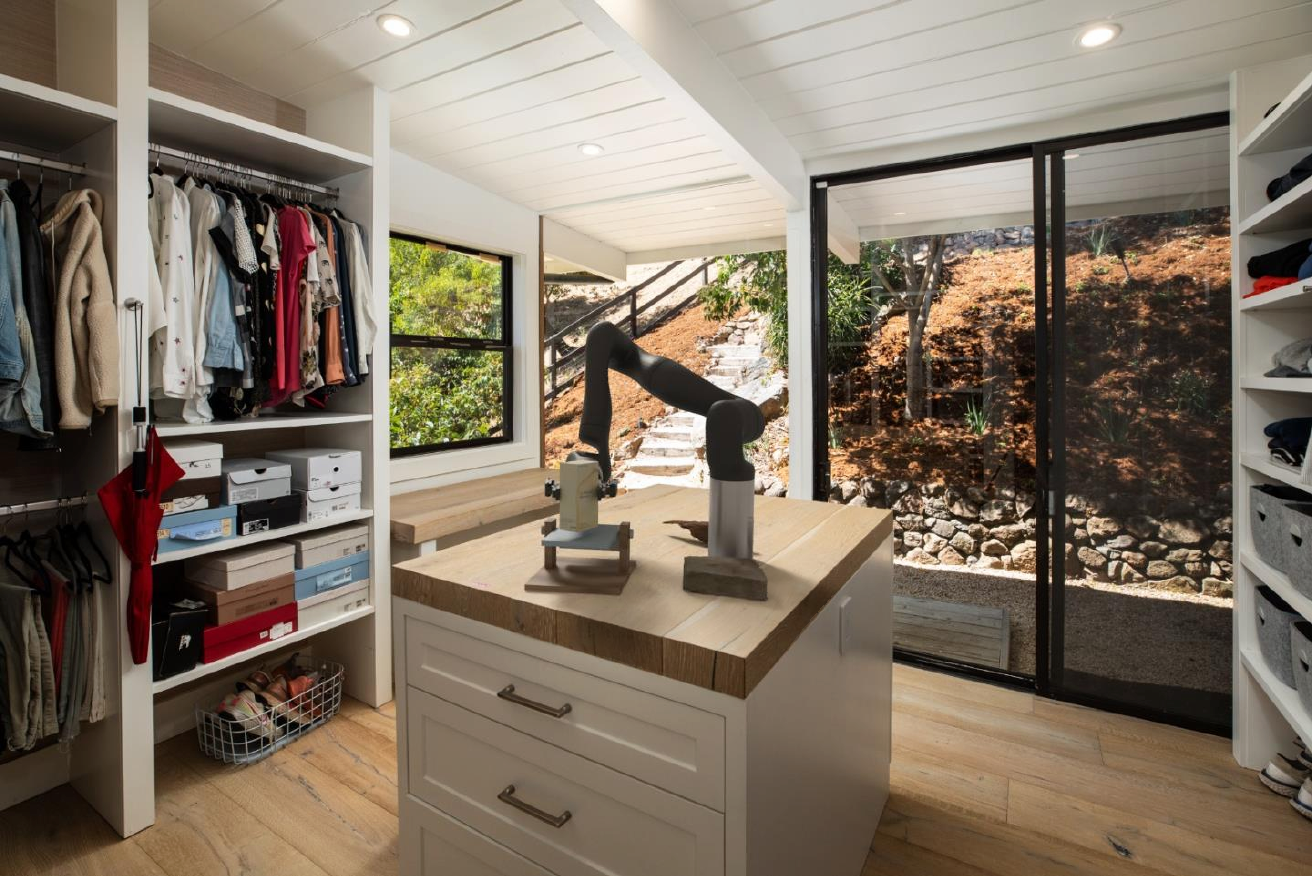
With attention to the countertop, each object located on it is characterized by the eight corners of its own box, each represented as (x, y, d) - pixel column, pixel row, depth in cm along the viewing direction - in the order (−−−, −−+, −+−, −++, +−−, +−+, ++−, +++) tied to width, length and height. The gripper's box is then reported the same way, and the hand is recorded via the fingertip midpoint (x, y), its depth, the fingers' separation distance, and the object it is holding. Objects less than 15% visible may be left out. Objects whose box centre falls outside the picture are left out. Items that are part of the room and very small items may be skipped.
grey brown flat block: (768, 603, 115) (769, 579, 115) (681, 600, 116) (682, 576, 116) (758, 574, 132) (759, 553, 131) (682, 572, 132) (683, 551, 132)
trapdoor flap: (563, 544, 135) (563, 522, 135) (622, 547, 134) (623, 525, 133) (541, 565, 120) (541, 540, 120) (607, 568, 119) (608, 543, 118)
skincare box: (577, 533, 119) (578, 464, 118) (558, 529, 121) (558, 462, 120) (599, 526, 124) (599, 460, 123) (580, 523, 126) (580, 458, 125)
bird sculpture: (668, 531, 166) (669, 511, 166) (760, 548, 151) (760, 526, 151) (652, 536, 161) (653, 515, 160) (745, 554, 146) (746, 531, 146)
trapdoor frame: (552, 560, 138) (552, 512, 137) (638, 565, 136) (638, 516, 135) (522, 589, 119) (522, 533, 118) (621, 595, 117) (622, 538, 116)
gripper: (548, 460, 135) (537, 473, 119) (619, 461, 136) (619, 474, 120) (547, 497, 136) (537, 515, 120) (619, 498, 137) (619, 516, 120)
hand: (578, 494), depth 120 cm, fingers closed on skincare box, 7 cm apart
